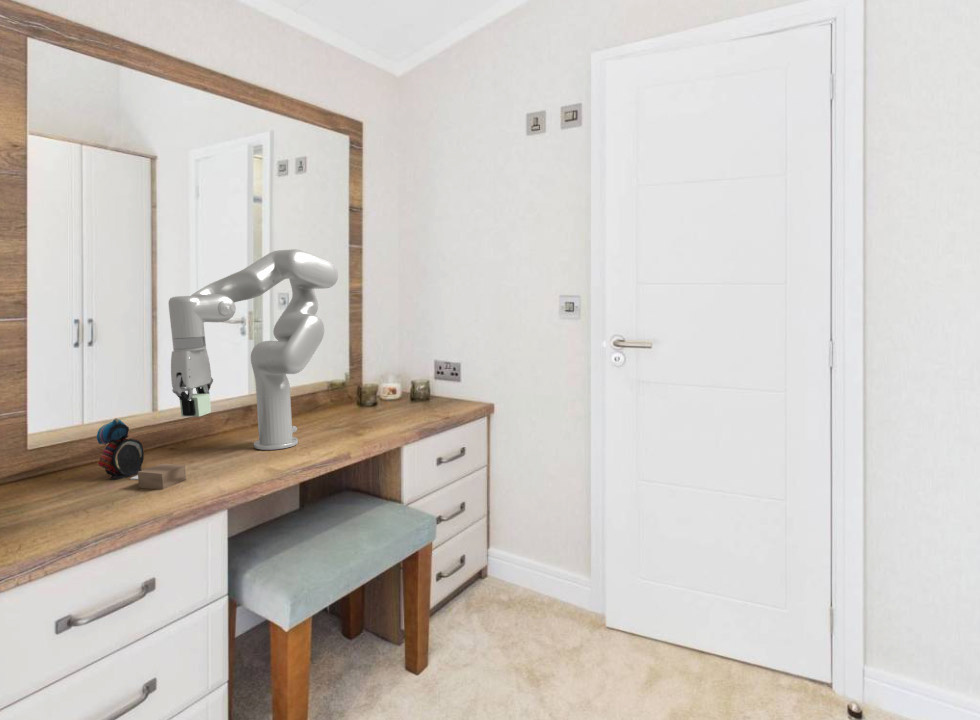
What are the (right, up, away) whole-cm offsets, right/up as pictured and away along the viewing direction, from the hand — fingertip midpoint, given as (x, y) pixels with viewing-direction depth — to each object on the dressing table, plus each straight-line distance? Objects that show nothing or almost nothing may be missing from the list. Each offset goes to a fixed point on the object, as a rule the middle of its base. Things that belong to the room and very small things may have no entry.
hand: (196, 412), depth 150 cm
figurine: (-17, -16, -4) cm, 23 cm away
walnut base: (-2, -16, -12) cm, 20 cm away
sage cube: (0, -1, 0) cm, 1 cm away
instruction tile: (-9, -15, -5) cm, 19 cm away
